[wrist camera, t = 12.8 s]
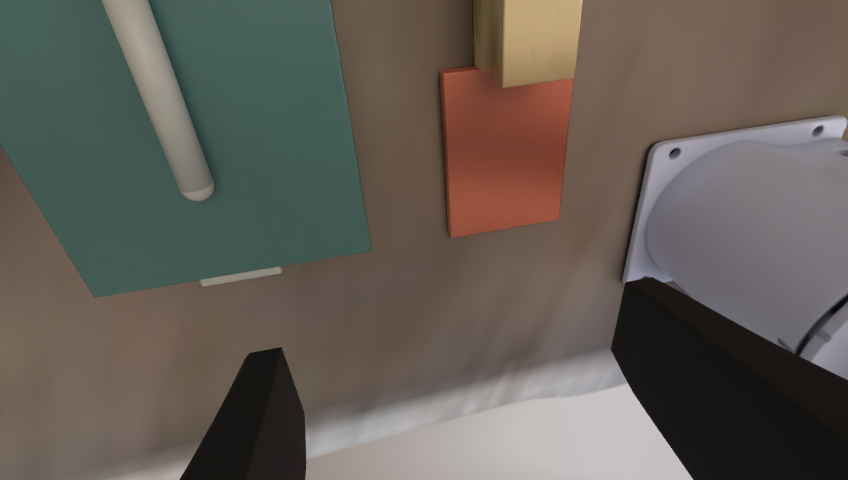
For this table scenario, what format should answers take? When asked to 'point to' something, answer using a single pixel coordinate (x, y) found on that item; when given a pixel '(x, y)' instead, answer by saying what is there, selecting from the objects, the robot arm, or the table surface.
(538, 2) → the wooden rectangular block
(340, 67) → the tiffin box
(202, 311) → the table surface
